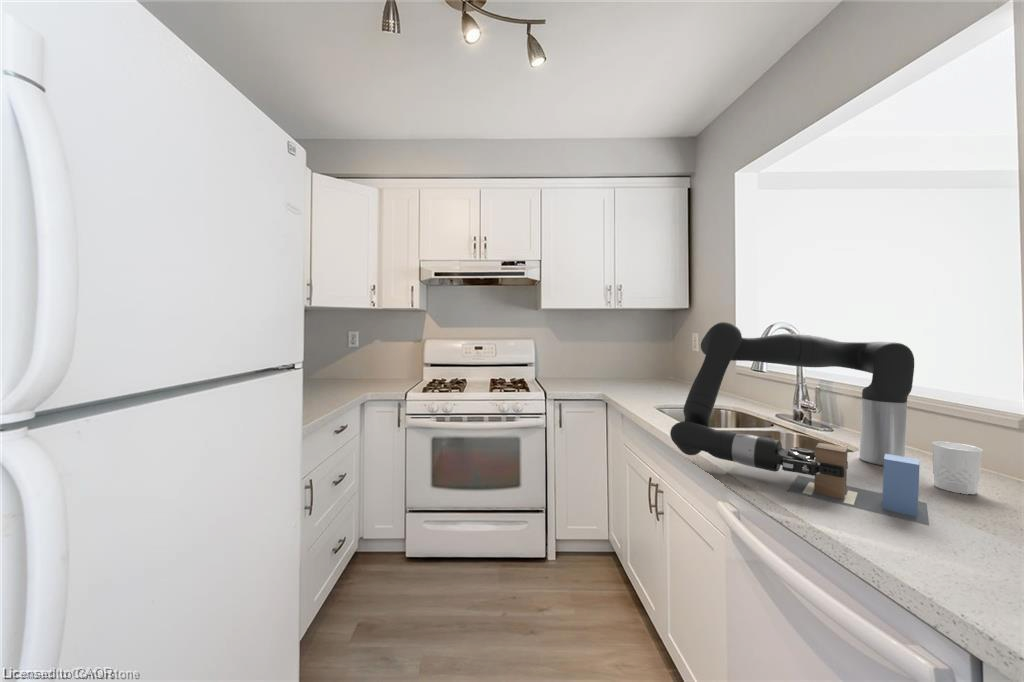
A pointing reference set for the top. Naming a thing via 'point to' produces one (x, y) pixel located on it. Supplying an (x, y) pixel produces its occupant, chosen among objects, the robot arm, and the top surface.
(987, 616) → the top surface
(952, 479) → the white cup
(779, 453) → the robot arm
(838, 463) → the walnut block
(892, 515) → the letter mat
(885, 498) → the blue block
